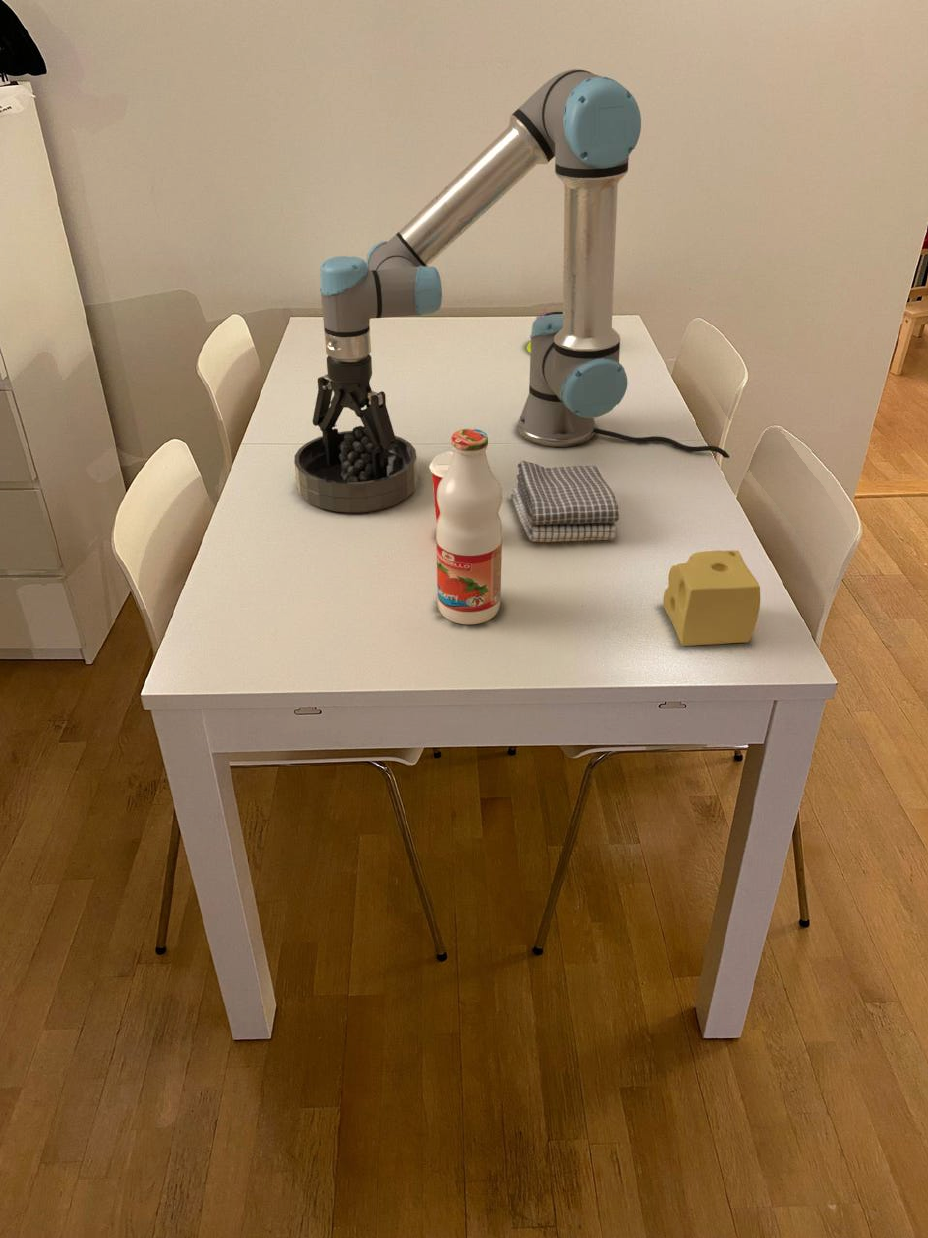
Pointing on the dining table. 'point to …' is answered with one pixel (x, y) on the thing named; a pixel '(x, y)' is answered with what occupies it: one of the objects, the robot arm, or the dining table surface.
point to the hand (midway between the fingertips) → (356, 473)
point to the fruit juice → (469, 533)
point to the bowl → (354, 497)
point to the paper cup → (439, 473)
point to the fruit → (356, 456)
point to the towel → (564, 503)
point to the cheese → (712, 599)
